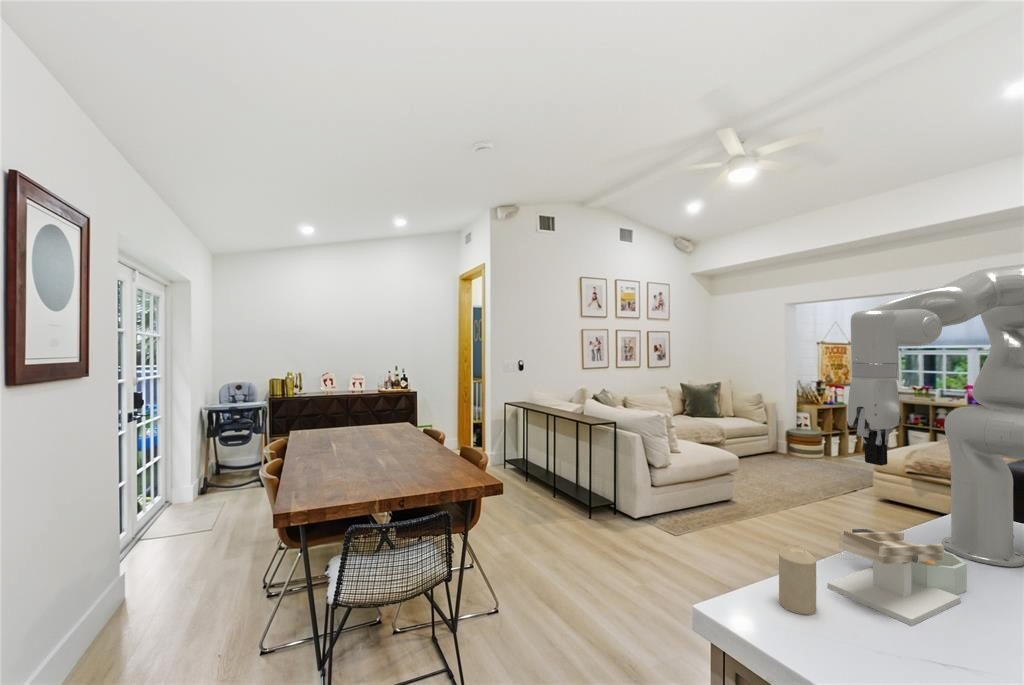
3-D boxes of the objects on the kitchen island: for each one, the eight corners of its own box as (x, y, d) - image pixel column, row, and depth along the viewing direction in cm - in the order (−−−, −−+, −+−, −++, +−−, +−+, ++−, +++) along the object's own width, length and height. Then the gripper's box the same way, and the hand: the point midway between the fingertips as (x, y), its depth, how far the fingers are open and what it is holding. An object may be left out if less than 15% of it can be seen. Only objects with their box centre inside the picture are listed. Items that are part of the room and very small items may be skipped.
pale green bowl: (909, 564, 96) (909, 539, 96) (974, 587, 87) (974, 560, 87) (881, 574, 92) (881, 549, 92) (947, 600, 83) (947, 571, 83)
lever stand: (876, 570, 94) (876, 536, 94) (960, 602, 82) (960, 563, 82) (827, 587, 87) (827, 551, 87) (911, 625, 75) (911, 583, 75)
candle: (822, 617, 78) (822, 556, 78) (785, 613, 79) (785, 553, 79) (808, 599, 83) (808, 542, 83) (774, 596, 84) (774, 540, 84)
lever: (867, 535, 97) (868, 519, 97) (944, 560, 85) (945, 542, 86) (807, 536, 88) (808, 519, 89) (883, 565, 77) (885, 544, 77)
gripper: (874, 369, 100) (875, 455, 100) (832, 372, 94) (833, 464, 94) (916, 371, 94) (918, 463, 94) (874, 374, 87) (876, 473, 87)
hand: (876, 463), depth 94 cm, fingers closed
